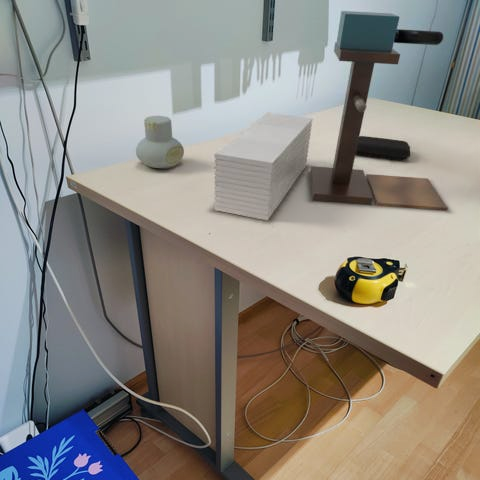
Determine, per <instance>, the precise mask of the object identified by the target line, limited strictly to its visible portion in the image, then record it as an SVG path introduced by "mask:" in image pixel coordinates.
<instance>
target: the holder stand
mask: <svg viewBox="0 0 480 480" xmlns="http://www.w3.org/2000/svg"><path fill="white" fill-rule="evenodd" d="M336 43H337V41H336V42H334V47H333V48H334V49H333V52H334V54H335V56H336V58H337V60H338V62H348V63H349V62H350V63H351V64H350V70H349V75H348V80H347V87H346V91H345V98H344V103H343V108H342V113H341V114H342V115H341V119H340V126H339V131H338V137H337V141H336V142H337V143H336V148H335V153H334V159H333V164H332V167H329V166H316V165H315V166H313V165H311V166H310V171H309V174H310V175H309V176H310V185H311V186H310V187H311V197H312V201H315V202H317V201H318V202H326V203H327V202H328V203H342V204H356V205H367V206H368V205H369V206H371V205H373V201H374V197H373V194H372V191H371V188H370V186H369V183H368V180H367V178H366V174H365V172H364V170H363V169H355V168H354V164H355V158H356V155H357V154H356V150H357V145H358V140H359V136H361V130H362V125H363V120H364V115H365V112H366V110H367V102H368V96H369V92H370V87H371V82H372V78H373V77H372V76H373V73H374V68H375V64H382V65H383V64H384V65H399V62H400V57H401V54H400V53H399V52H398V51H397V50H395V49H393V48H392V52H386V51H369V50H352V49H340V48H339V47H338V45H337V44H336Z"/></svg>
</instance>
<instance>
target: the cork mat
mask: <svg viewBox="0 0 480 480" xmlns="http://www.w3.org/2000/svg"><path fill="white" fill-rule="evenodd" d="M365 177H366V180H367V182H368V185H369V188H370V190H371V193H372V196H373V200H374V201H375V205H376V206H382V207H395V208H407V209H420V210H432V211H434V210H435V211H445V212H446V211H448V206H447V205H446V204H445V202H444V200H443V199H442V197H441V196H440V194H439V193H438V191H437V190H436V189H435V187H434V185H433V184H432V183H431V181H430V180H429V178H425V177H412V176H400V175H399V176H398V175H384V174H371V173H370V174H369V173H366V174H365Z"/></svg>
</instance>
